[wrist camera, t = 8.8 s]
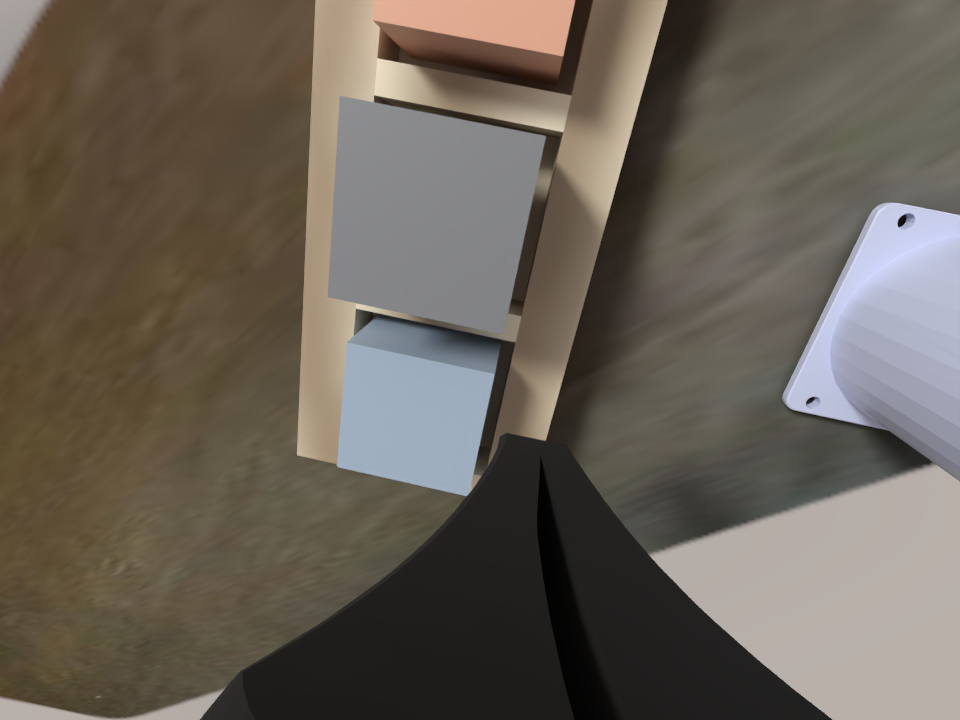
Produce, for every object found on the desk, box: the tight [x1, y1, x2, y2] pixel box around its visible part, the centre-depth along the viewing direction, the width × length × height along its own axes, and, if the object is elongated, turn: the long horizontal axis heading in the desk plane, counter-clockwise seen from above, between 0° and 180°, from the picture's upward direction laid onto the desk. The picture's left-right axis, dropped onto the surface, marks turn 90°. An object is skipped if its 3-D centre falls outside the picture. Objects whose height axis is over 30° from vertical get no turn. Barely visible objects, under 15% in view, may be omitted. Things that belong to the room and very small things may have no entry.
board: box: [297, 0, 668, 493], centre depth 17 cm, size 10×22×2 cm, turn 169°
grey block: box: [328, 96, 546, 334], centre depth 14 cm, size 5×5×4 cm
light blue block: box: [337, 314, 502, 496], centre depth 18 cm, size 5×5×4 cm
